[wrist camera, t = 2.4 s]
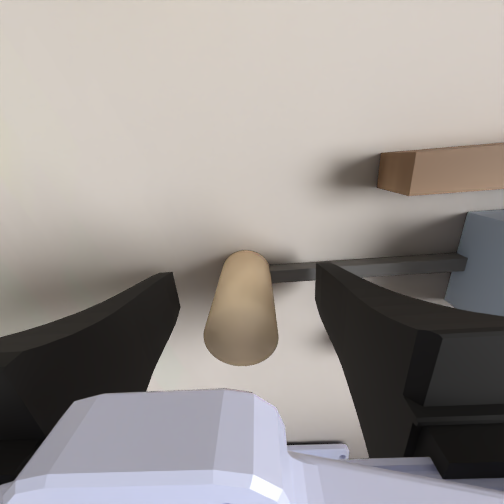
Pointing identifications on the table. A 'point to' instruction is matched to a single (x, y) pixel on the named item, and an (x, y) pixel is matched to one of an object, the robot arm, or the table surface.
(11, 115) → the table surface
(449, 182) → the walnut lane
